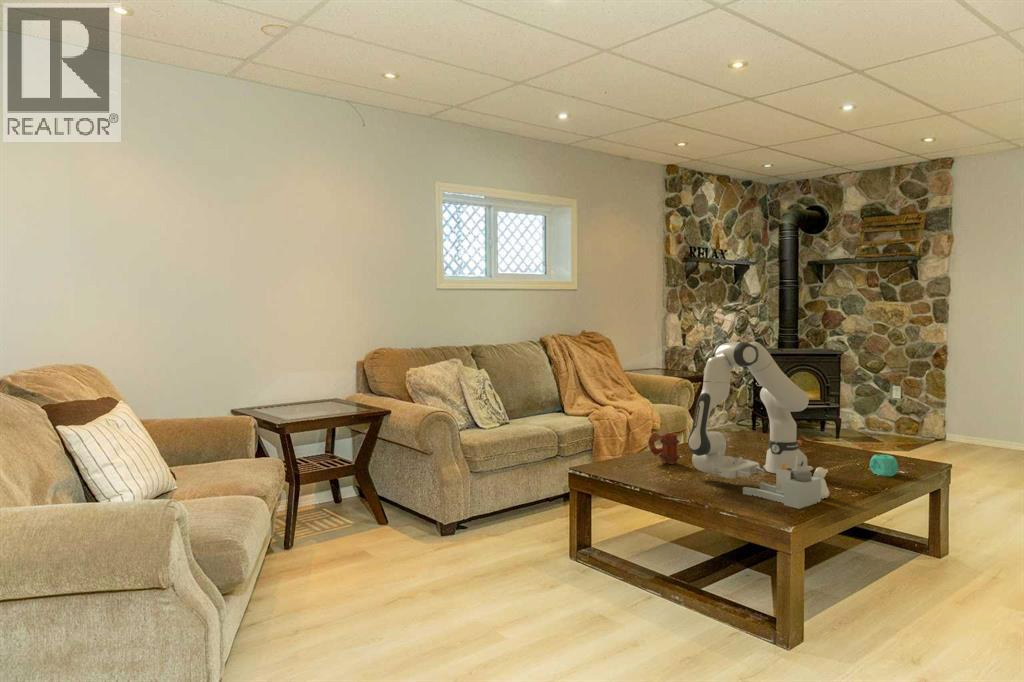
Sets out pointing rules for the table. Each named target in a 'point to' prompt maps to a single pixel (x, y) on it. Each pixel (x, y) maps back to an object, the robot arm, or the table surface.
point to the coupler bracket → (792, 490)
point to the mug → (665, 447)
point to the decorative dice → (883, 465)
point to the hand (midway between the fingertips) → (756, 473)
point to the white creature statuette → (822, 481)
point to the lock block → (783, 477)
